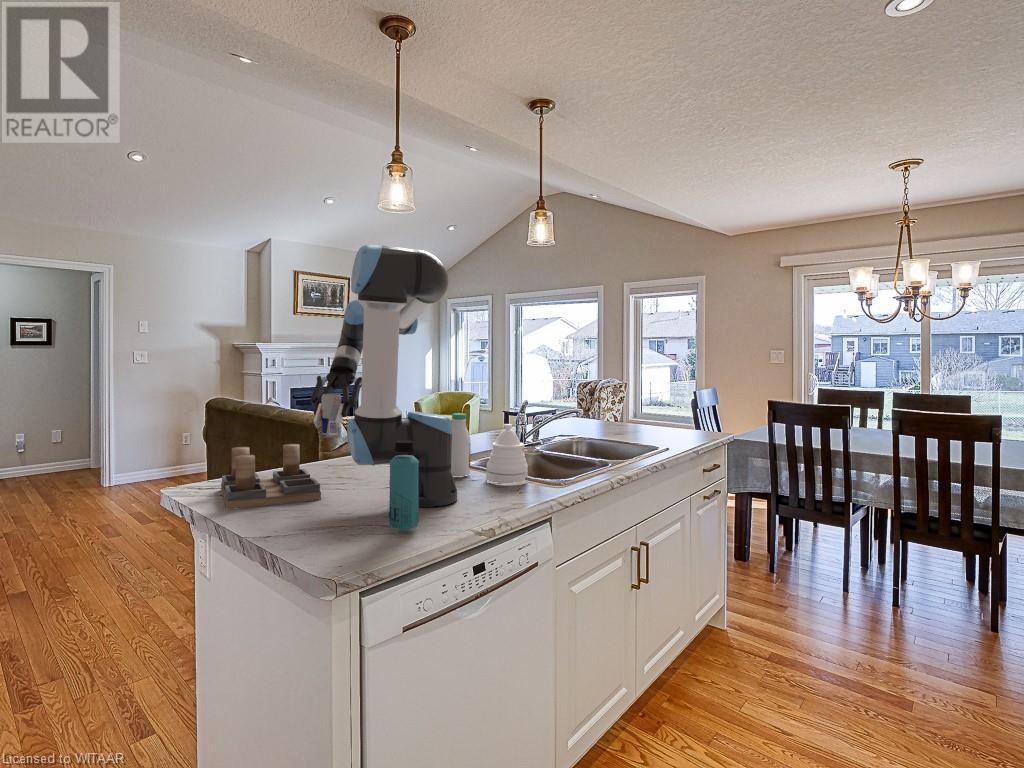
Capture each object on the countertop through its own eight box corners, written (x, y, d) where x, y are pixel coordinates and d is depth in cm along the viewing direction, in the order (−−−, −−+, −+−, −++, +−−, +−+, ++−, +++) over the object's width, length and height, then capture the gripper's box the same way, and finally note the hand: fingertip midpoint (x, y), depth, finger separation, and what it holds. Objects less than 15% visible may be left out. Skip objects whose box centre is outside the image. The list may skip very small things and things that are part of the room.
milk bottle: (466, 478, 172) (467, 415, 171) (442, 477, 174) (443, 414, 173) (472, 473, 180) (474, 413, 179) (450, 472, 181) (451, 412, 180)
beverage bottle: (424, 529, 122) (425, 439, 121) (409, 538, 115) (410, 443, 114) (398, 525, 124) (399, 437, 123) (382, 534, 117) (383, 441, 116)
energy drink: (324, 434, 159) (324, 393, 158) (343, 434, 159) (343, 393, 159) (318, 437, 154) (319, 394, 153) (338, 437, 154) (338, 395, 153)
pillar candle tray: (320, 499, 144) (321, 454, 144) (226, 509, 133) (226, 460, 132) (304, 482, 163) (304, 441, 162) (221, 489, 152) (221, 446, 151)
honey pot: (527, 487, 164) (529, 426, 163) (484, 485, 164) (486, 425, 163) (527, 477, 176) (528, 421, 175) (487, 476, 177) (488, 420, 176)
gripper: (377, 373, 171) (362, 433, 155) (318, 371, 171) (297, 431, 156) (373, 356, 165) (357, 417, 150) (312, 354, 165) (289, 415, 150)
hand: (326, 424), depth 153 cm, fingers closed on energy drink, 5 cm apart
